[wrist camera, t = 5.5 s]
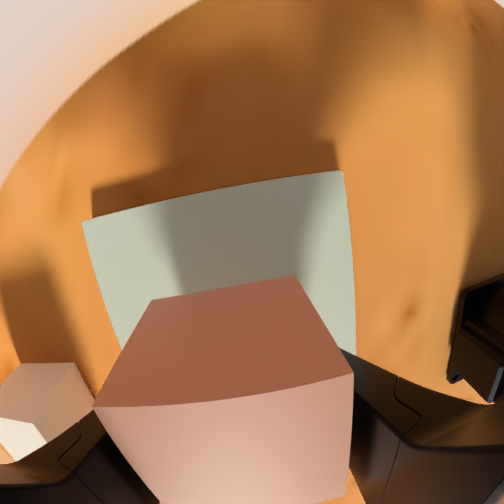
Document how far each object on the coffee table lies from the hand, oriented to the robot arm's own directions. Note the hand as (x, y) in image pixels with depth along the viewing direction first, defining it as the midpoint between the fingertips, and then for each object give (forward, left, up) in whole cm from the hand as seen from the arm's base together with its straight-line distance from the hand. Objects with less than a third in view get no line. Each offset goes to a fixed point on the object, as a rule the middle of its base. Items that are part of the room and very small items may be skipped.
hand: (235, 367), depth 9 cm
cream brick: (+11, +4, -4) cm, 12 cm away
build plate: (0, 0, -4) cm, 4 cm away
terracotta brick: (0, 0, -1) cm, 1 cm away
